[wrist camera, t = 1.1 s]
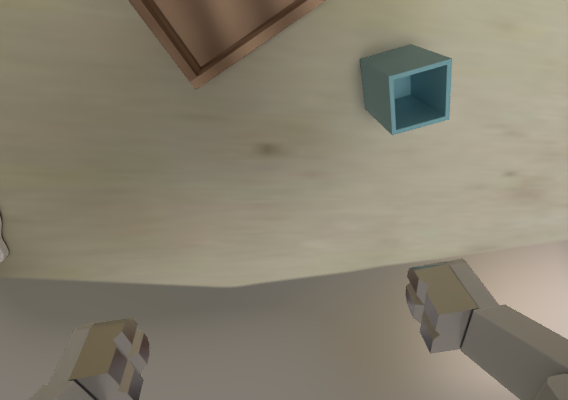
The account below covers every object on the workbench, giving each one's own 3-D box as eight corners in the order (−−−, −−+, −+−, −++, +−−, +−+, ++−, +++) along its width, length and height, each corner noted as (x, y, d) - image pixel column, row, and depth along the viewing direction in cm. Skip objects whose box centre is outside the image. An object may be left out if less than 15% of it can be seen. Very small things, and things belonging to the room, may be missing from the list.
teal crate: (365, 108, 38) (392, 135, 32) (359, 59, 35) (388, 76, 29) (412, 95, 38) (449, 119, 32) (410, 44, 35) (451, 58, 28)
